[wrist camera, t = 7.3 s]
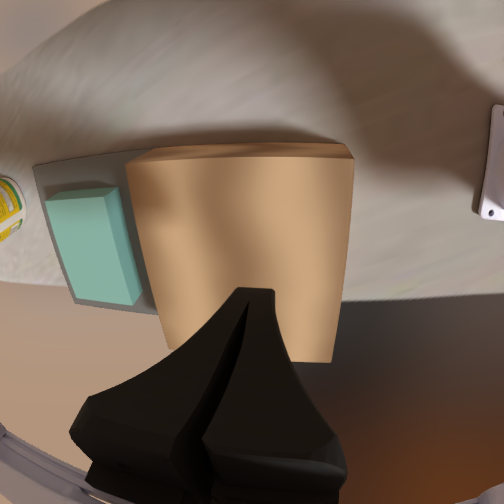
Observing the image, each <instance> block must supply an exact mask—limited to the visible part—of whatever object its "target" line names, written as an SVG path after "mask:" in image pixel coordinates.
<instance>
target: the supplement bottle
mask: <svg viewBox="0 0 504 504" xmlns="http://www.w3.org/2000/svg"><path fill="white" fill-rule="evenodd" d="M26 213H27V211H26V203H25V199H24V197H23V195H22V192H21V190H20V188H19V187H18V185H17V184H16V183H15V182H14V181H13V180H11V179H9V178H5V177H3V178H0V242H1V241H3V240H4V239H5V238H7V237H8V236H10V235H11V234H12V233H14V232H15V231H16V230H18V229H19V228H20V227H21V226H22V225H23V224H24V222H25V219H26Z"/></svg>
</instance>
